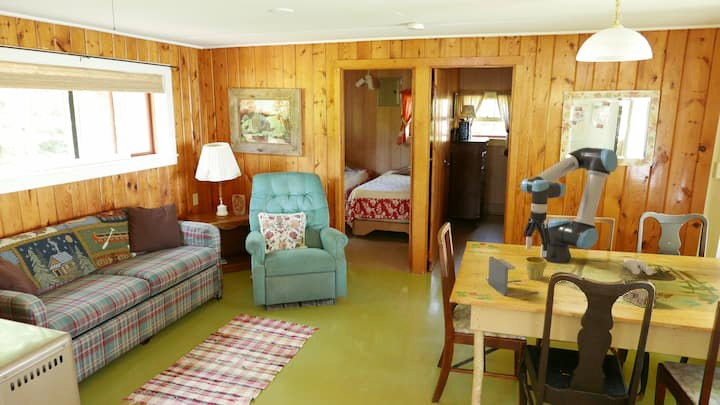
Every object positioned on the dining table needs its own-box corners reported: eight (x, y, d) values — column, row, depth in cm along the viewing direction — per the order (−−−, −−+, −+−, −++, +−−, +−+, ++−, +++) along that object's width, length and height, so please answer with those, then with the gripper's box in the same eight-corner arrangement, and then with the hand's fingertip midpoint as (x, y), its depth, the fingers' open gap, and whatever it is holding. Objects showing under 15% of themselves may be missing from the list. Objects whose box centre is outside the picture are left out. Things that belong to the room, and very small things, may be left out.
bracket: (519, 280, 250) (521, 253, 247) (538, 293, 233) (540, 264, 230) (487, 283, 246) (488, 256, 243) (504, 296, 230) (506, 267, 227)
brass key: (495, 275, 256) (496, 274, 256) (500, 277, 254) (500, 275, 253) (484, 279, 252) (484, 277, 252) (489, 281, 249) (489, 279, 249)
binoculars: (631, 274, 256) (632, 266, 255) (621, 264, 271) (621, 256, 270) (653, 275, 254) (654, 267, 253) (641, 265, 270) (642, 257, 269)
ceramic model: (662, 304, 220) (664, 282, 218) (650, 310, 213) (653, 288, 211) (629, 294, 231) (631, 274, 229) (617, 300, 224) (619, 279, 222)
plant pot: (547, 282, 247) (548, 263, 245) (525, 280, 249) (526, 262, 247) (543, 275, 257) (544, 256, 255) (522, 273, 259) (523, 255, 257)
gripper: (518, 206, 257) (516, 246, 261) (546, 217, 233) (542, 260, 237) (531, 206, 258) (529, 245, 263) (560, 216, 235) (557, 259, 239)
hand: (535, 252), depth 250 cm, fingers open, 13 cm apart
